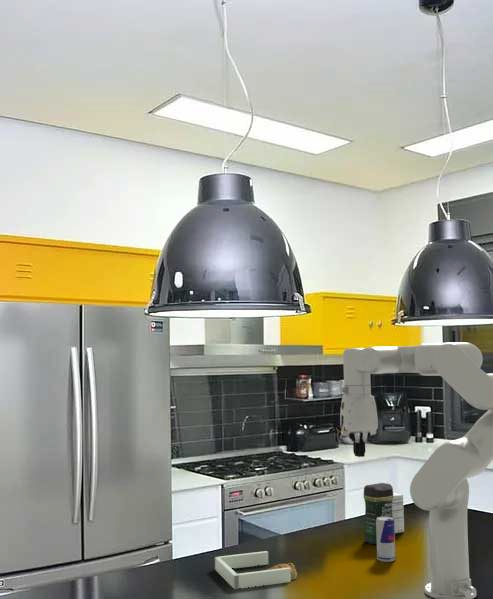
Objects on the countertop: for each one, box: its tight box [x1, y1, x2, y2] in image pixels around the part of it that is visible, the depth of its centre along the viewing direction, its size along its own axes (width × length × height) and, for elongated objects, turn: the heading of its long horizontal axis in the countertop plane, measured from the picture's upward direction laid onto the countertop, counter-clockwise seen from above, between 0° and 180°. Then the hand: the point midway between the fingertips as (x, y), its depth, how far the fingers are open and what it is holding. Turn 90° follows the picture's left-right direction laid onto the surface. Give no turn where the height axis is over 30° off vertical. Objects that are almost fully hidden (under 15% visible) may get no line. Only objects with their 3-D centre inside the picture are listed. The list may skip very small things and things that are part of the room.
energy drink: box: [376, 516, 397, 563], centre depth 210 cm, size 5×5×12 cm
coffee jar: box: [363, 482, 394, 545], centre depth 230 cm, size 10×8×19 cm
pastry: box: [266, 562, 298, 581], centre depth 194 cm, size 9×7×4 cm
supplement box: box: [392, 491, 405, 534], centre depth 243 cm, size 7×7×13 cm
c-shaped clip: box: [214, 550, 292, 590], centre depth 197 cm, size 18×16×4 cm
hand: (359, 456), depth 200 cm, fingers closed
